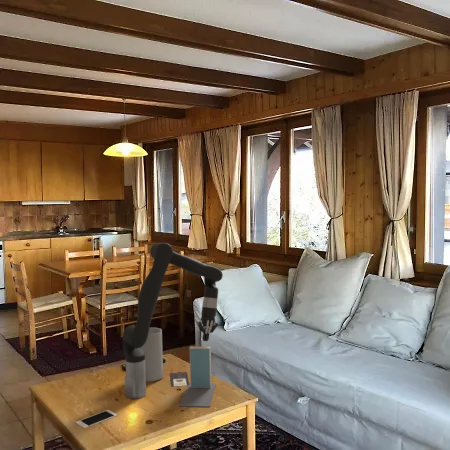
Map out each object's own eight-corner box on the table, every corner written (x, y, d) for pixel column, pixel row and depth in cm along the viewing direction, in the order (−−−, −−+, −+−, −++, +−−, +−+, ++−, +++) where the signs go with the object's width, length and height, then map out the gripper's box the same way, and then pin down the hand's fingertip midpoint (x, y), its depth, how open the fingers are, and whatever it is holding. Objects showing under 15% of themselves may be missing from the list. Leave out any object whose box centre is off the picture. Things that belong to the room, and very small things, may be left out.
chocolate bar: (186, 371, 266) (189, 385, 248) (186, 373, 266) (189, 386, 248) (169, 373, 265) (171, 386, 247) (169, 374, 265) (171, 388, 247)
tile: (191, 385, 247) (190, 346, 246) (211, 386, 246) (210, 346, 245) (190, 387, 245) (189, 348, 243) (210, 388, 244) (209, 348, 242)
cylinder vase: (143, 373, 267) (141, 327, 265) (165, 373, 265) (164, 327, 264) (135, 381, 255) (134, 334, 253) (159, 382, 253) (158, 334, 251)
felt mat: (209, 407, 223) (209, 406, 223) (179, 406, 225) (179, 405, 225) (215, 384, 249) (215, 383, 249) (188, 384, 250) (188, 383, 250)
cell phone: (75, 423, 211) (75, 422, 211) (108, 410, 223) (108, 409, 222) (84, 429, 206) (84, 427, 206) (117, 416, 217) (117, 414, 217)
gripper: (215, 307, 262) (211, 340, 260) (194, 305, 254) (190, 339, 252) (224, 308, 257) (220, 342, 254) (203, 306, 249) (199, 341, 246)
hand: (205, 340), depth 253 cm, fingers closed
